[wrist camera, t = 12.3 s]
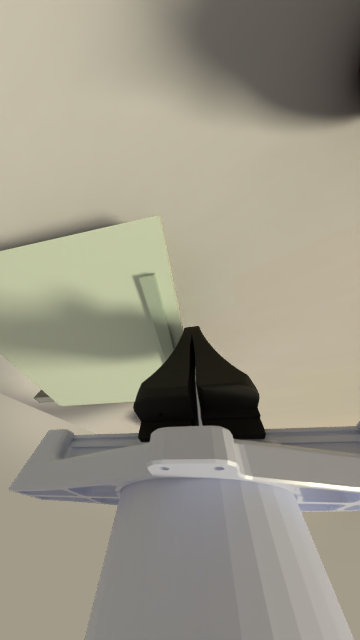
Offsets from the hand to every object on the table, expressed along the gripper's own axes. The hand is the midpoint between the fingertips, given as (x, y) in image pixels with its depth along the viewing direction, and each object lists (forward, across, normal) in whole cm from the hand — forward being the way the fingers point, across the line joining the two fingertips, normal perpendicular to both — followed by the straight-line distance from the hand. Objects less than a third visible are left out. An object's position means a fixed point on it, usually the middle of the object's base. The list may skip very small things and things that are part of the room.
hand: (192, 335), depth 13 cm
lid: (0, +10, 0) cm, 10 cm away
